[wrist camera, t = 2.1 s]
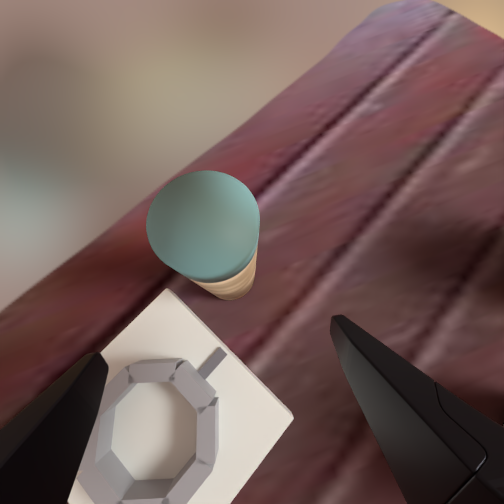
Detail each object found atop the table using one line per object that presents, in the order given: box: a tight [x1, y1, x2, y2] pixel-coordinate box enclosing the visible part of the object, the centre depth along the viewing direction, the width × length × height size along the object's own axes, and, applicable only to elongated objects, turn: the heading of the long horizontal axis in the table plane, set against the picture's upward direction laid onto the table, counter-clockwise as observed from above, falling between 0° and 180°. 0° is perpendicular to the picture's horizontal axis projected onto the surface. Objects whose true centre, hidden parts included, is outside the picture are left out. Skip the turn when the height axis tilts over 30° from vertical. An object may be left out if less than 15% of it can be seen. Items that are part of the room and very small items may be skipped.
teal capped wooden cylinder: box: [146, 171, 260, 300], centre depth 15 cm, size 4×4×12 cm
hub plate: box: [68, 288, 294, 504], centre depth 16 cm, size 14×14×3 cm
